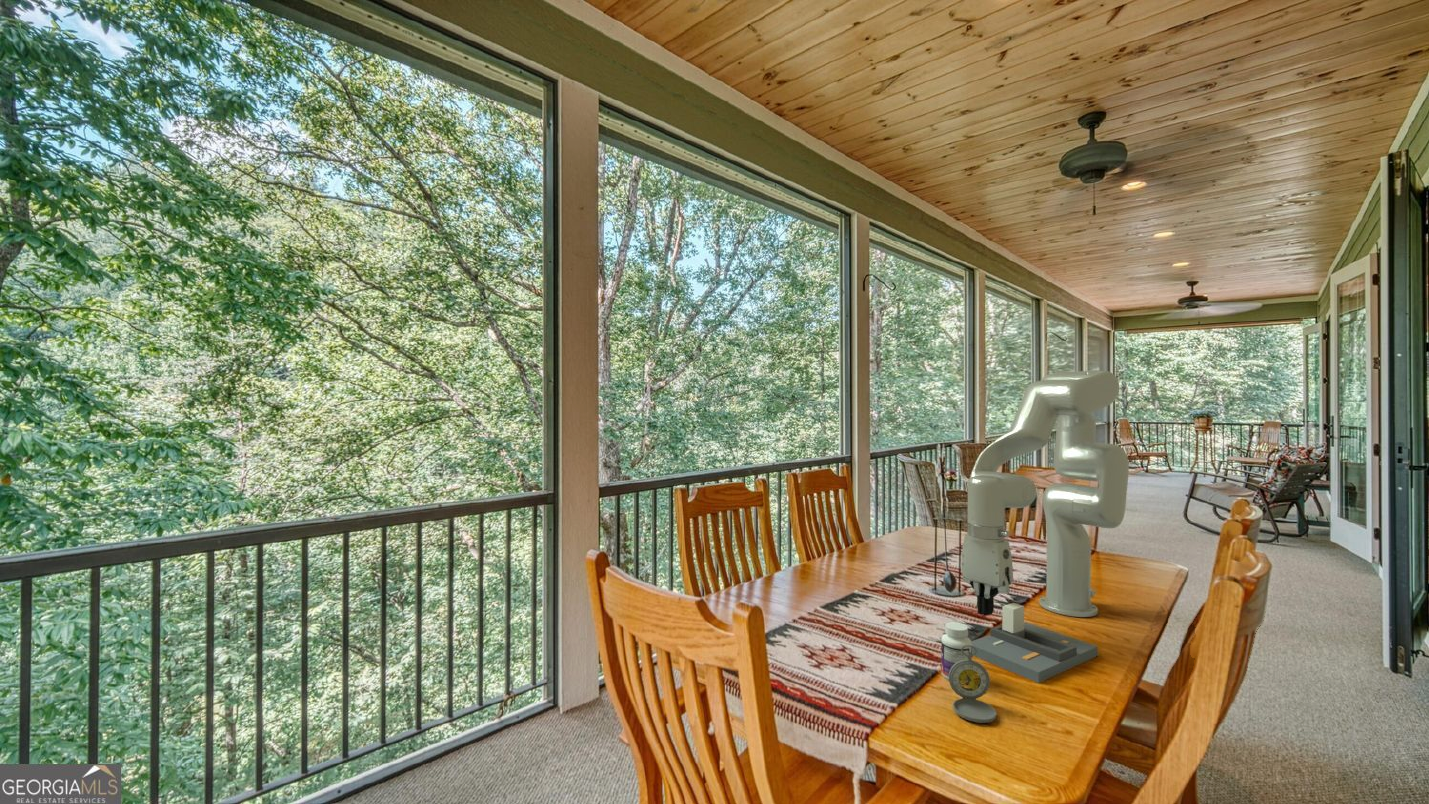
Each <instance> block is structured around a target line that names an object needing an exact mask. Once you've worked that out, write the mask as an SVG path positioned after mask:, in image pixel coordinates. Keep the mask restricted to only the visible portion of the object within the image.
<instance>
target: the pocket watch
mask: <svg viewBox="0 0 1429 804" xmlns="http://www.w3.org/2000/svg"><path fill="white" fill-rule="evenodd" d="M965 647H972V648H974V647H973V646H970V645H966V646H963V647H962V648H961V651H962V653H963V654H965V655H966V656H967V657H968V659H965V660H960V661H958V662H956V663H955V664H954V665H953V666H952V667H951V669H950V672H949V680H948V682H949V685H950V688H951V689H952V691H954V693H955V694H956V695H957V696H959V697H960V698H958V699H956V700H955V701H953V703H952V707H953V708H952V709H953V712H955V713H956V714H957V715H958V716H959V717H960V718H962V719H964V720H968V721H969V722H974V723H980V724H983V723H984V724H985V723H987V724H988V723H991V722H993V721H995V720H996V718H997V711H996V709H995V708H994V707H993V706H992V705H990V704H988V703H987V702H984V701H982V700H979V699H978V698H981V697H982V696H984V695H985V694H987V691H988V690H989V688H990V685H991V678H990V675H989V672H988V671H987V669H986V668H985V666H984V665H982V663H979V662H977V661H975V660H973V659H972V660H971V657H972V658H973V657H974V656H973V655H975V654H976V653H977V650H976V648H974V649H975V653H974V654H972V653H971V652H970V651H968V653H964V652H963V648H965ZM958 680H960V681H961V682H960V681H958ZM964 681H966V682H967V681H968V682H967V683H964ZM977 681H978V683H977ZM964 685H965V686H964Z"/></svg>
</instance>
